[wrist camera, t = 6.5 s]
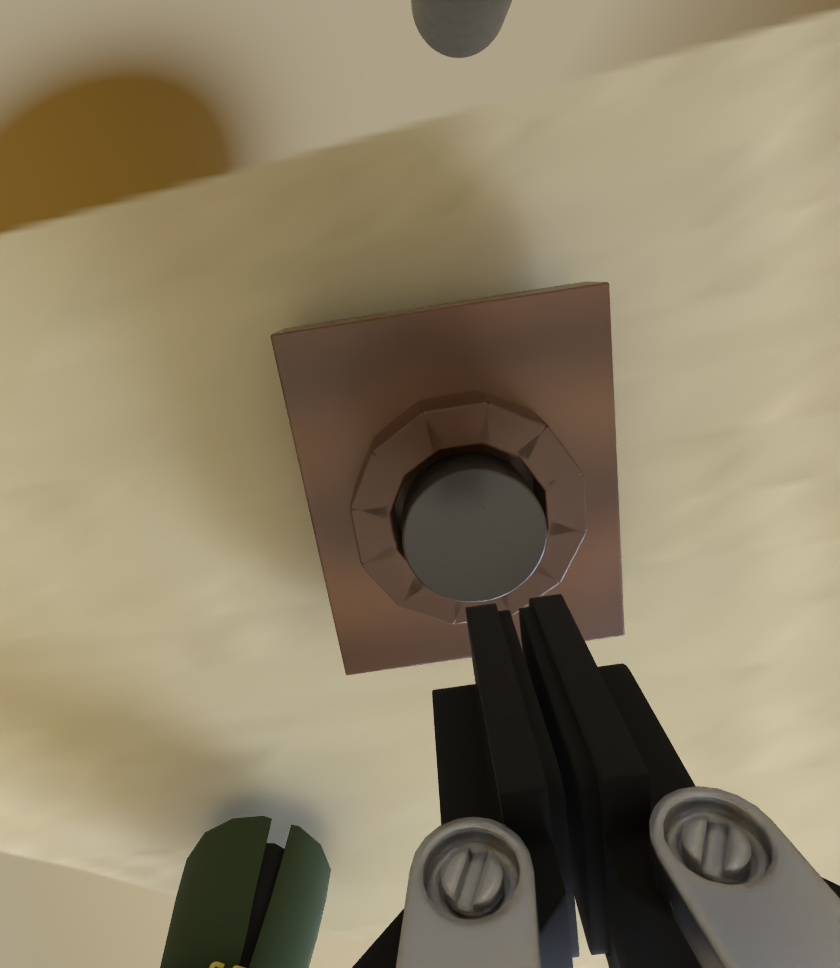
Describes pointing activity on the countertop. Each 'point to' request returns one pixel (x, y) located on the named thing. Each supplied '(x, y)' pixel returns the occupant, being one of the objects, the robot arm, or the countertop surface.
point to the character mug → (248, 900)
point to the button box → (450, 430)
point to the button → (472, 527)
